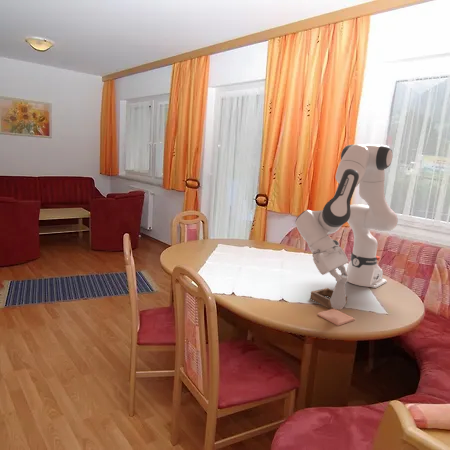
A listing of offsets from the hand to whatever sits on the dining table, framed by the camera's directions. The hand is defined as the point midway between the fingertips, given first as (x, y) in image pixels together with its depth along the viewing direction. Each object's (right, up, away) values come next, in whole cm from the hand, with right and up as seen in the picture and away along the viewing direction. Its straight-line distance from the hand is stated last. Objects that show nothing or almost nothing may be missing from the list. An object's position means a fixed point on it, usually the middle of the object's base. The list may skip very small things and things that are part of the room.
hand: (343, 278), depth 142 cm
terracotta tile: (-2, -16, +4) cm, 16 cm away
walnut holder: (-1, -13, +19) cm, 23 cm away
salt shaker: (-2, -12, +3) cm, 12 cm away
